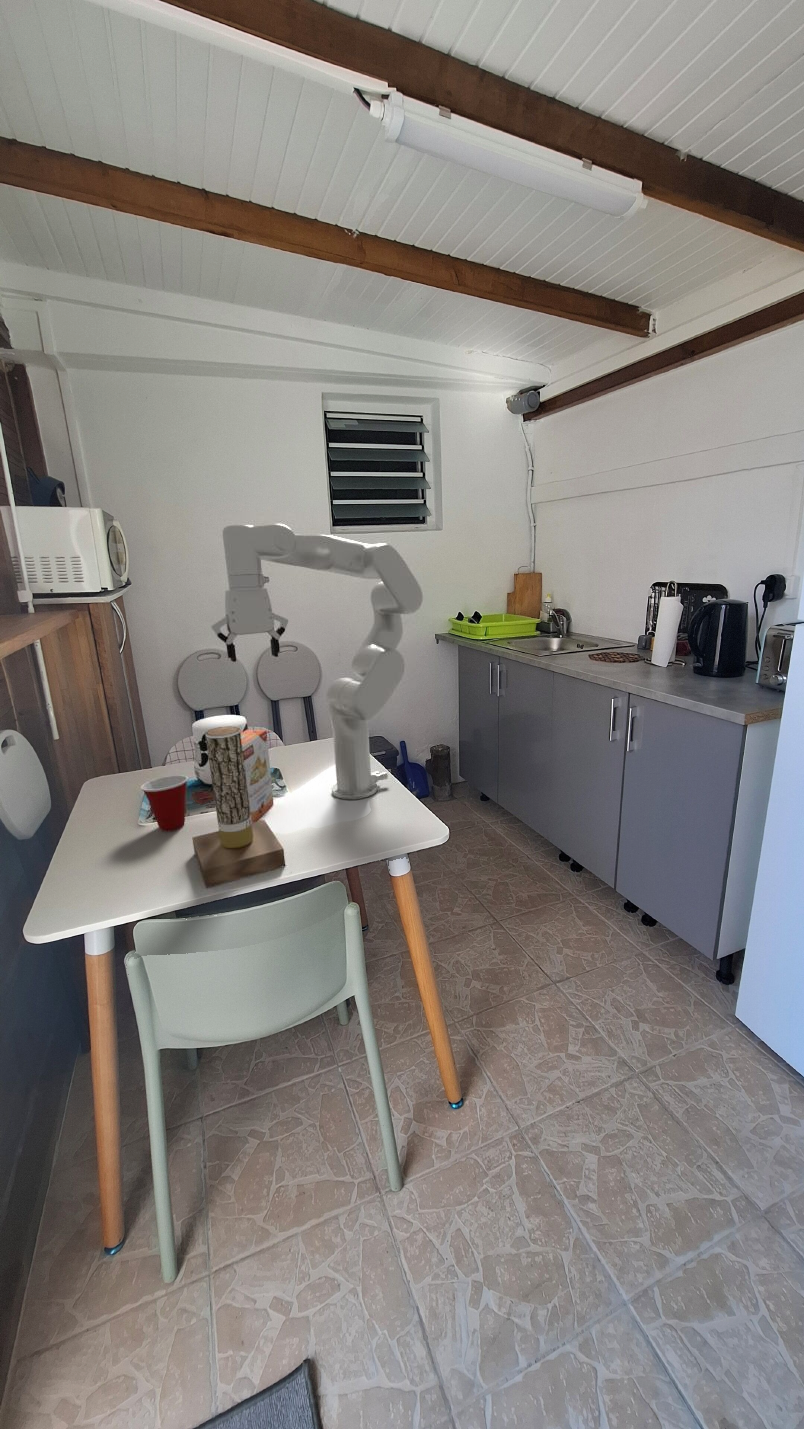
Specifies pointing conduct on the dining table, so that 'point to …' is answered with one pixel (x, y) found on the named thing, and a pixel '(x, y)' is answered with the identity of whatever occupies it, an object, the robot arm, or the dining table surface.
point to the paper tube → (229, 786)
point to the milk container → (201, 746)
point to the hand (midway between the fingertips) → (254, 658)
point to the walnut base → (237, 856)
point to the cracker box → (257, 771)
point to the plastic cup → (167, 800)
